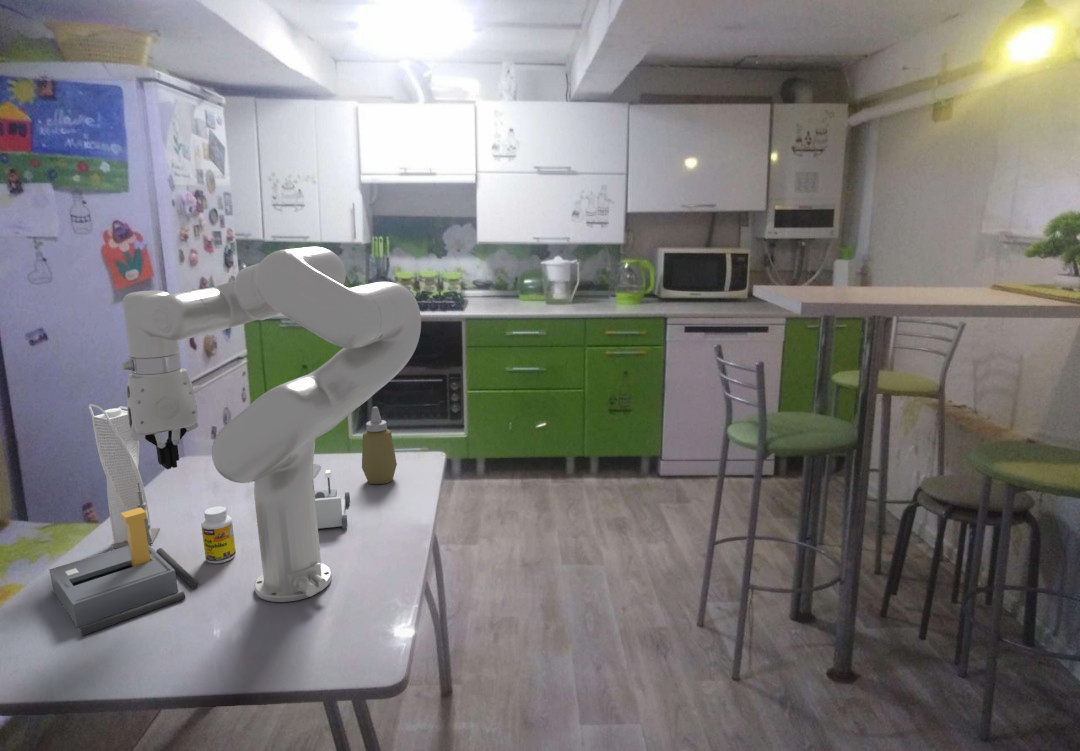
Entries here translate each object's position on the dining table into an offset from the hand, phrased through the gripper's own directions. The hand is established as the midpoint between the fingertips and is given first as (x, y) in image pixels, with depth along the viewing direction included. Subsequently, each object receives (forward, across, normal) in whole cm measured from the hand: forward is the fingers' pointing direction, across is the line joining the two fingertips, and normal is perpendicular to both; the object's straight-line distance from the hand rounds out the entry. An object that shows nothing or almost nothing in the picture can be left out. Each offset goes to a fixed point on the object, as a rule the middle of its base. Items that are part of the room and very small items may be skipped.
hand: (169, 466), depth 128 cm
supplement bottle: (+20, +6, -2) cm, 21 cm away
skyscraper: (+20, -3, +19) cm, 28 cm away
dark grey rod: (+19, -1, -1) cm, 19 cm away
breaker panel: (+20, -11, -1) cm, 22 cm away
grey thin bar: (+19, -11, -12) cm, 25 cm away
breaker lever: (+16, -7, -1) cm, 18 cm away
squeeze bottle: (+19, +48, +10) cm, 53 cm away
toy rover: (+20, +29, +3) cm, 35 cm away
